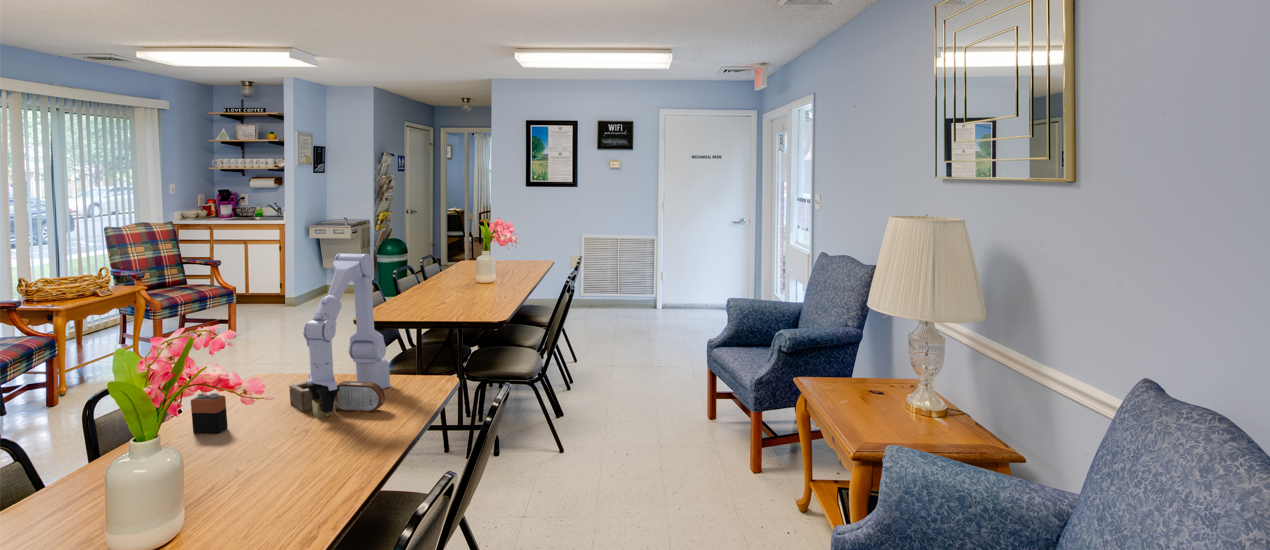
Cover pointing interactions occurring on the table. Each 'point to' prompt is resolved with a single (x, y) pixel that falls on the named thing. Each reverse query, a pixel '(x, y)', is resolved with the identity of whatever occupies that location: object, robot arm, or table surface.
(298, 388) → the coin box
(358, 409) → the tin
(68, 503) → the table surface
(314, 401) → the olive yellow block
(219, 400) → the battery
